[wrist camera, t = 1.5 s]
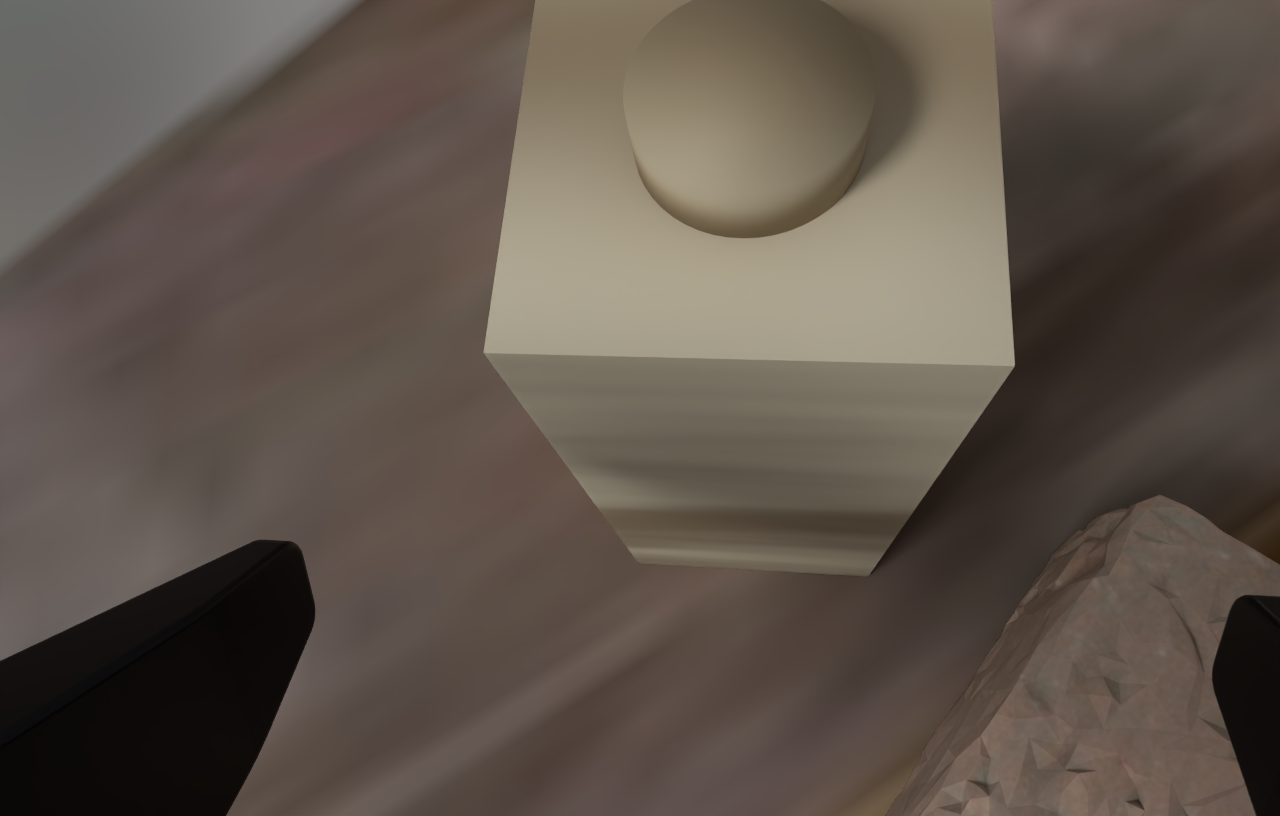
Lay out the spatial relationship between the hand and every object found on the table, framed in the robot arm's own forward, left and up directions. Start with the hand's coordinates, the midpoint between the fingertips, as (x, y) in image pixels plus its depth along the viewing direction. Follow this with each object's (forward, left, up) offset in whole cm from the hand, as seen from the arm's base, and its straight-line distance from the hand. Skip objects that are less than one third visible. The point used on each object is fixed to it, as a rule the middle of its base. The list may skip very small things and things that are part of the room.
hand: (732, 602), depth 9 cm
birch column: (+4, -1, -11) cm, 12 cm away
